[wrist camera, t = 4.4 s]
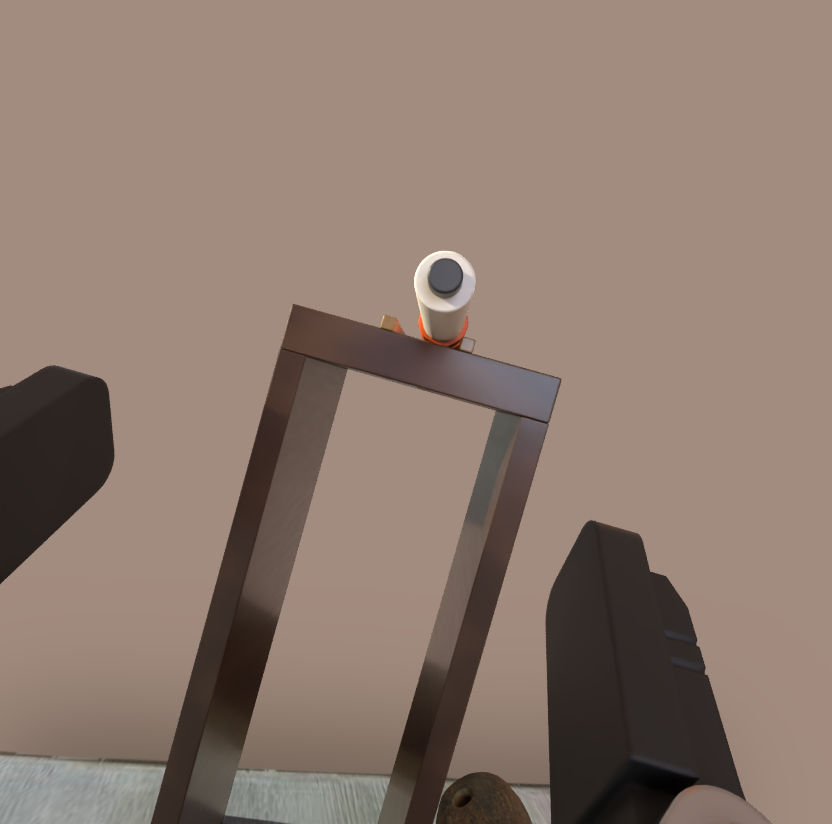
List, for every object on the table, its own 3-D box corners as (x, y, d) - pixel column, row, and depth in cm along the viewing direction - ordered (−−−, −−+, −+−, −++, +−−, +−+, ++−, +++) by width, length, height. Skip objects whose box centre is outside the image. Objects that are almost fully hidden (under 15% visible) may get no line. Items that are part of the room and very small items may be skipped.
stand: (104, 991, 25) (295, 289, 24) (206, 811, 36) (340, 323, 35) (360, 1074, 25) (566, 364, 24) (384, 867, 36) (526, 375, 35)
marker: (416, 342, 33) (440, 313, 33) (444, 366, 33) (469, 337, 33) (389, 280, 16) (440, 218, 15) (450, 331, 16) (501, 269, 15)
